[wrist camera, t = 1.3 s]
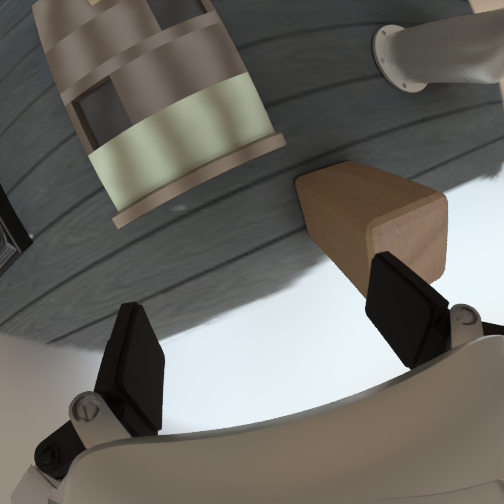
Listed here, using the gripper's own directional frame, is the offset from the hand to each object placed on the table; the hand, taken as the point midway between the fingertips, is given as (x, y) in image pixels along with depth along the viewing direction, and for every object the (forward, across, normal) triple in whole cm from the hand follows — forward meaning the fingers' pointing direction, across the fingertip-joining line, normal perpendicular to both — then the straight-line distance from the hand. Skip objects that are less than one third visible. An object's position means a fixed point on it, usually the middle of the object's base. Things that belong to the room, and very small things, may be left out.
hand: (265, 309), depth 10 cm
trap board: (+28, +8, -20) cm, 35 cm away
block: (+28, -16, +5) cm, 33 cm away
